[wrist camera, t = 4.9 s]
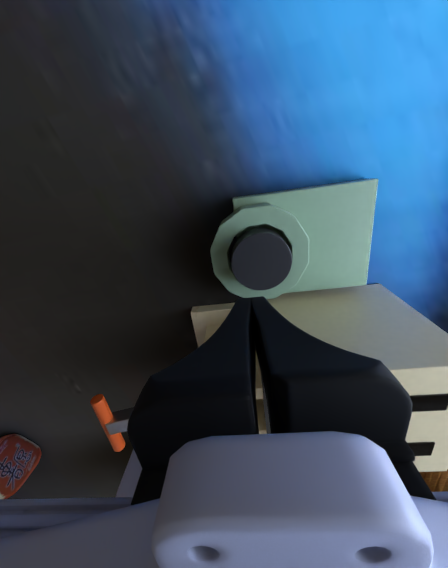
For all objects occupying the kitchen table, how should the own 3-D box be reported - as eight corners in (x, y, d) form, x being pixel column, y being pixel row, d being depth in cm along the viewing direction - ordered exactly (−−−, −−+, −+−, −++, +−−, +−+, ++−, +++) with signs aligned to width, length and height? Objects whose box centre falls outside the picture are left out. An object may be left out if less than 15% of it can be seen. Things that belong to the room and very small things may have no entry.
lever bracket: (206, 370, 26) (192, 455, 18) (192, 306, 23) (168, 375, 15) (270, 365, 25) (286, 452, 17) (265, 299, 22) (282, 368, 14)
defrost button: (235, 283, 18) (234, 293, 17) (228, 231, 17) (227, 237, 15) (288, 278, 18) (292, 287, 16) (286, 224, 16) (291, 229, 15)
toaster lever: (118, 432, 19) (109, 465, 17) (96, 386, 17) (83, 415, 15) (249, 401, 20) (258, 427, 18) (243, 354, 18) (252, 377, 16)
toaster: (270, 369, 26) (288, 477, 16) (264, 294, 22) (284, 378, 13) (369, 362, 25) (448, 473, 15) (379, 283, 21) (491, 365, 12)
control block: (222, 291, 22) (219, 310, 19) (208, 200, 19) (202, 205, 16) (356, 277, 21) (378, 295, 18) (366, 178, 18) (394, 178, 15)
